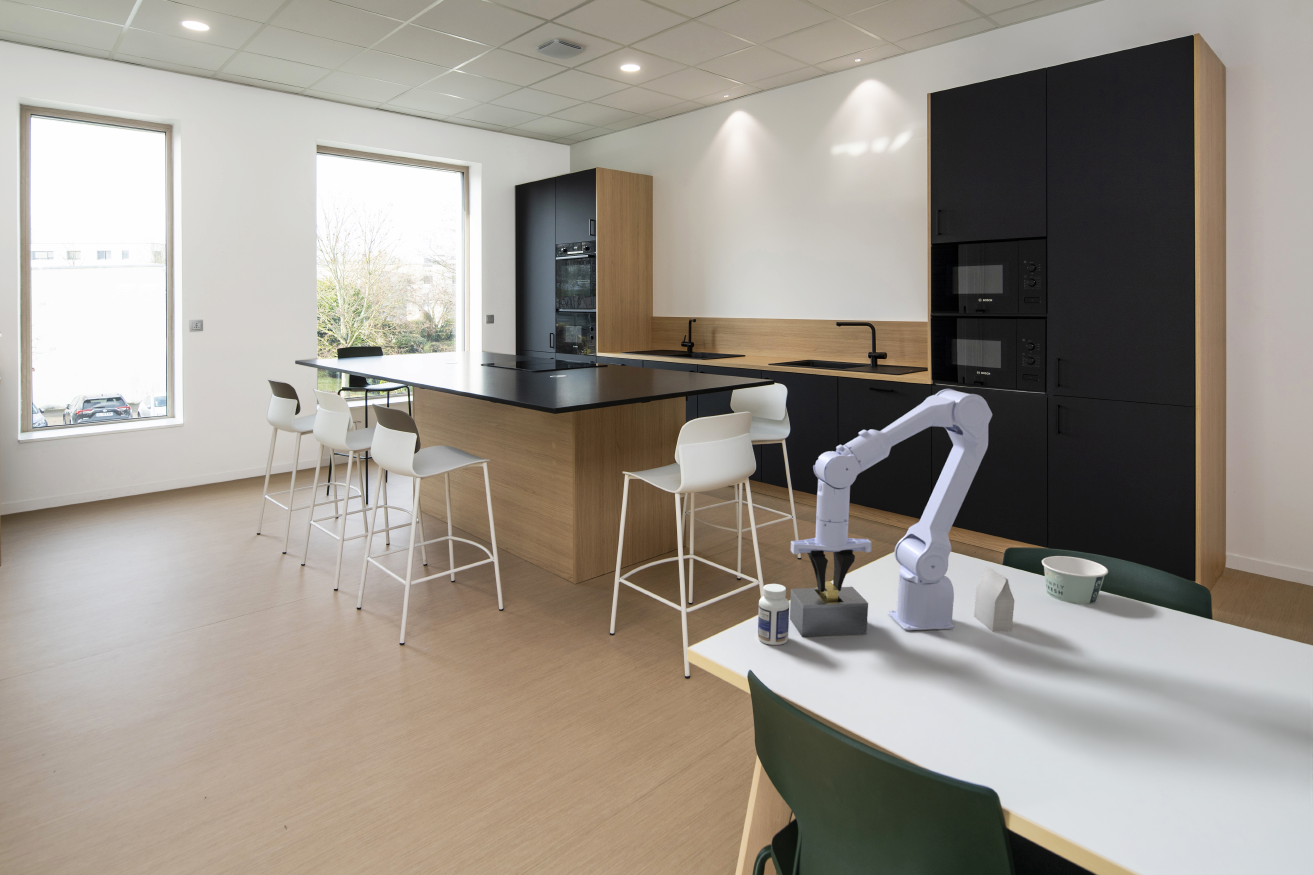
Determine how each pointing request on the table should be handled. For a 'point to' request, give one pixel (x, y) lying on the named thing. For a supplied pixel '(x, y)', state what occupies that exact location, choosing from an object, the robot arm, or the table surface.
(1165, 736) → the table surface
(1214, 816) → the table surface
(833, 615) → the grey slotted block
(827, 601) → the block
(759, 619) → the pill bottle
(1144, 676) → the table surface
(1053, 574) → the food container
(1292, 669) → the table surface
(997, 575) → the white gabled box
